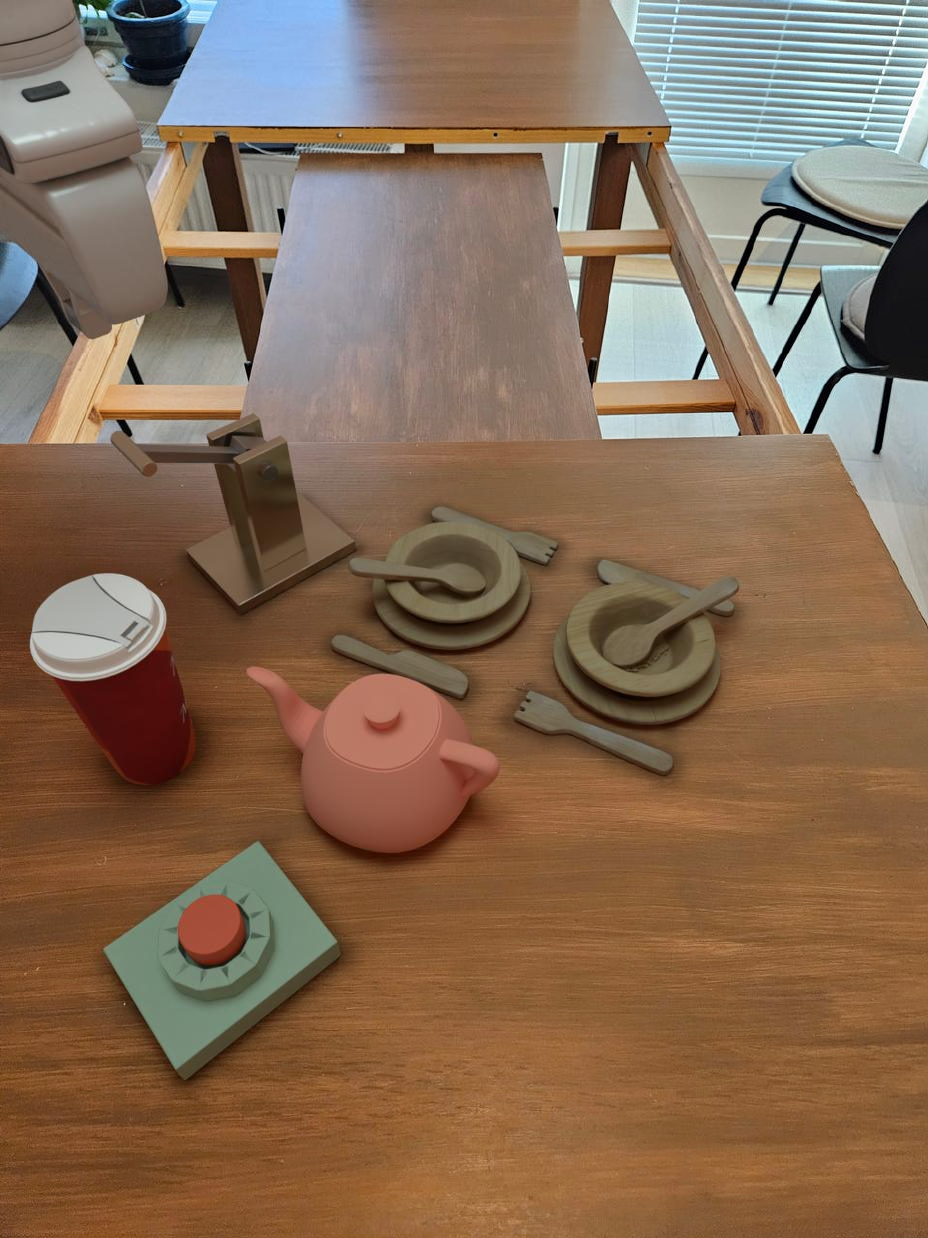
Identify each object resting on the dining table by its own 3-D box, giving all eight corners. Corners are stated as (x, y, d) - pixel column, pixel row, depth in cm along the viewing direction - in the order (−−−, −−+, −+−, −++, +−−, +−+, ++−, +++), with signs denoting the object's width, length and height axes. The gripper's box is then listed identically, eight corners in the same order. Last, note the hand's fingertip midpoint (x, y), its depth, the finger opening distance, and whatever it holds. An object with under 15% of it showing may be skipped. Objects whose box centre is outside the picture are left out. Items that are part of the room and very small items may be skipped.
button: (204, 979, 51) (197, 967, 50) (173, 933, 53) (166, 920, 52) (257, 938, 53) (252, 926, 51) (226, 895, 55) (220, 882, 53)
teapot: (464, 899, 58) (464, 827, 51) (227, 808, 63) (196, 730, 56) (526, 753, 66) (532, 673, 58) (310, 682, 70) (292, 599, 63)
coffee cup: (234, 728, 67) (187, 590, 56) (166, 816, 62) (100, 684, 51) (144, 691, 70) (83, 551, 58) (72, 773, 65) (-11, 638, 53)
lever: (139, 484, 63) (145, 454, 62) (107, 452, 66) (112, 422, 65) (277, 483, 72) (285, 457, 71) (245, 455, 74) (252, 428, 73)
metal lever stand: (241, 615, 75) (208, 497, 65) (188, 559, 79) (150, 441, 70) (356, 550, 80) (341, 432, 71) (300, 501, 85) (279, 384, 75)
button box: (184, 1081, 51) (167, 1060, 48) (112, 962, 55) (92, 936, 52) (341, 955, 56) (334, 929, 53) (263, 855, 60) (253, 826, 57)
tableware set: (324, 649, 72) (315, 599, 68) (434, 506, 84) (432, 455, 80) (680, 786, 64) (696, 739, 59) (746, 605, 75) (764, 554, 71)
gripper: (-120, 53, 51) (-20, 284, 61) (27, 160, 40) (117, 416, 50) (-10, 30, 53) (67, 255, 64) (153, 125, 43) (215, 375, 53)
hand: (91, 327), depth 57 cm, fingers closed
